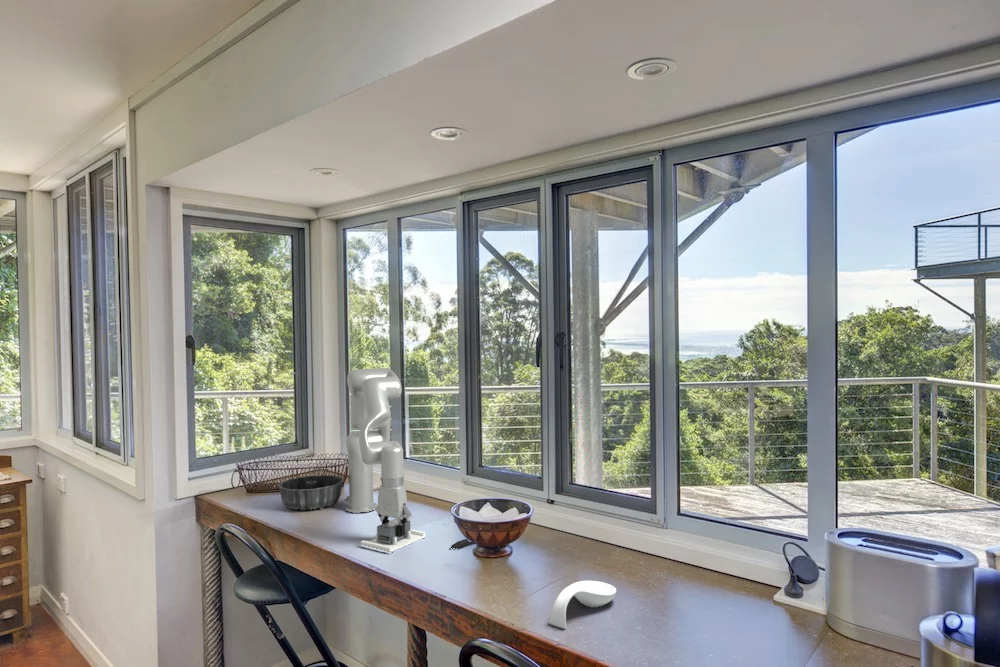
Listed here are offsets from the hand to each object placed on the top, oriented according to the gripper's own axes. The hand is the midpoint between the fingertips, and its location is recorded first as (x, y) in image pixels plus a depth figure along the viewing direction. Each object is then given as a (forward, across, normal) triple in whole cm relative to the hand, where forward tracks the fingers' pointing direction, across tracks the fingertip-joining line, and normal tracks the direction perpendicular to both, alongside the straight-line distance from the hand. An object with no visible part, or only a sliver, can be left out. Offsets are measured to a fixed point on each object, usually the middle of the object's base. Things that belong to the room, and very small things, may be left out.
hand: (393, 533), depth 211 cm
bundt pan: (+4, -61, +17) cm, 64 cm away
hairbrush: (+4, +26, +16) cm, 31 cm away
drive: (+2, 0, 0) cm, 2 cm away
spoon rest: (+3, +77, -13) cm, 78 cm away
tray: (+3, 0, 0) cm, 3 cm away
